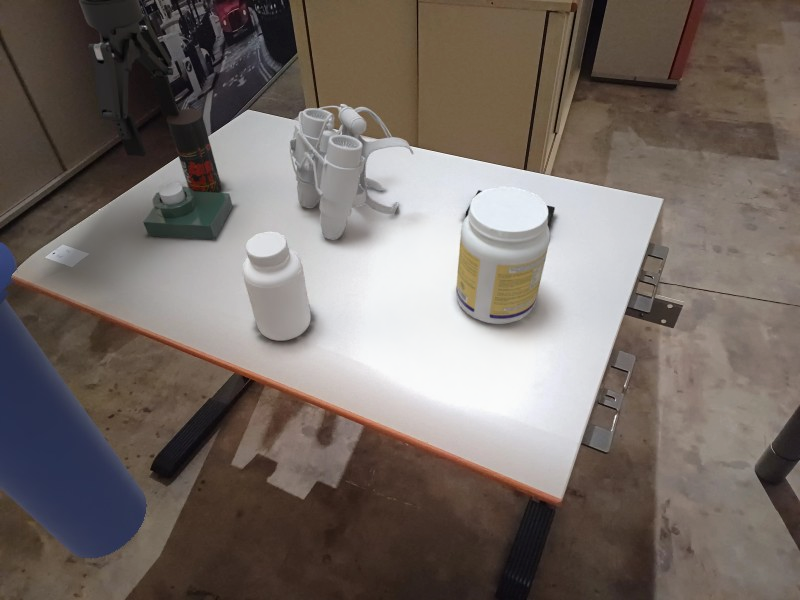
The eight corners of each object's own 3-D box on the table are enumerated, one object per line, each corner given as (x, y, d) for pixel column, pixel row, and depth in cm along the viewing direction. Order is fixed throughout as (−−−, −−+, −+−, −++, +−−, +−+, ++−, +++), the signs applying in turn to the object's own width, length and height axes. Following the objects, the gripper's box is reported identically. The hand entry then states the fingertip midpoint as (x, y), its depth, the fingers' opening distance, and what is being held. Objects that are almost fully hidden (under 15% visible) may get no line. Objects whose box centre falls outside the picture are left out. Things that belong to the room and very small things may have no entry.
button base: (148, 236, 96) (138, 212, 93) (171, 203, 104) (162, 180, 100) (214, 240, 96) (207, 216, 92) (233, 206, 103) (226, 183, 99)
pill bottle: (249, 339, 79) (226, 260, 69) (267, 300, 85) (247, 221, 74) (303, 345, 78) (287, 265, 68) (317, 305, 84) (305, 226, 73)
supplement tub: (543, 284, 87) (565, 193, 75) (523, 337, 79) (544, 245, 67) (469, 264, 90) (479, 175, 79) (443, 313, 83) (450, 222, 71)
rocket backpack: (410, 235, 101) (437, 131, 89) (315, 247, 92) (331, 132, 80) (367, 189, 112) (385, 90, 100) (278, 195, 103) (287, 87, 91)
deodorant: (183, 194, 106) (159, 120, 95) (203, 178, 109) (181, 106, 99) (209, 201, 104) (187, 127, 93) (228, 185, 108) (208, 112, 97)
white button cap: (158, 205, 95) (154, 195, 94) (167, 192, 98) (164, 182, 97) (180, 206, 95) (177, 196, 93) (189, 193, 98) (186, 183, 96)
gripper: (86, 23, 67) (144, 175, 82) (167, -33, 85) (203, 101, 100) (28, 21, 68) (96, 172, 82) (121, -34, 85) (163, 99, 100)
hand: (154, 133), depth 91 cm, fingers open, 13 cm apart
